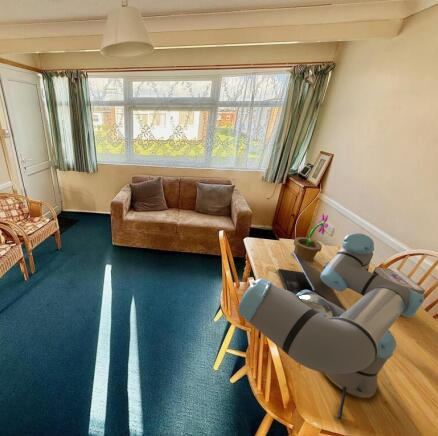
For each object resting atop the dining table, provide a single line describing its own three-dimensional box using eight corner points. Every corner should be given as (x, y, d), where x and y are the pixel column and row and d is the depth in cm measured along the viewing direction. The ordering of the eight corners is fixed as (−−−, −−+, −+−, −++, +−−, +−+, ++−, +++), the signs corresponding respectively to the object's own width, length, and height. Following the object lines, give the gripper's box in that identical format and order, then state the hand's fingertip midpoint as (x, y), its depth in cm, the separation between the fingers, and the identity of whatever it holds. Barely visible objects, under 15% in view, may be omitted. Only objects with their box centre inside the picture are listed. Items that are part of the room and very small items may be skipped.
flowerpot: (319, 266, 134) (338, 220, 121) (292, 261, 138) (307, 216, 125) (312, 252, 146) (328, 210, 133) (287, 248, 150) (300, 207, 137)
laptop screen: (313, 290, 97) (314, 289, 96) (292, 251, 123) (293, 251, 122) (349, 319, 98) (351, 318, 97) (321, 274, 124) (322, 274, 124)
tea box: (409, 316, 101) (427, 290, 95) (383, 312, 103) (399, 287, 97) (385, 292, 114) (399, 268, 108) (362, 289, 116) (374, 266, 110)
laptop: (294, 312, 104) (295, 309, 103) (278, 271, 130) (278, 268, 129) (348, 321, 99) (349, 318, 98) (320, 277, 125) (321, 274, 124)
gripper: (408, 274, 74) (396, 299, 87) (323, 240, 93) (324, 264, 107) (395, 292, 73) (385, 314, 86) (312, 253, 92) (314, 276, 106)
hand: (351, 286), depth 96 cm, fingers open, 13 cm apart
